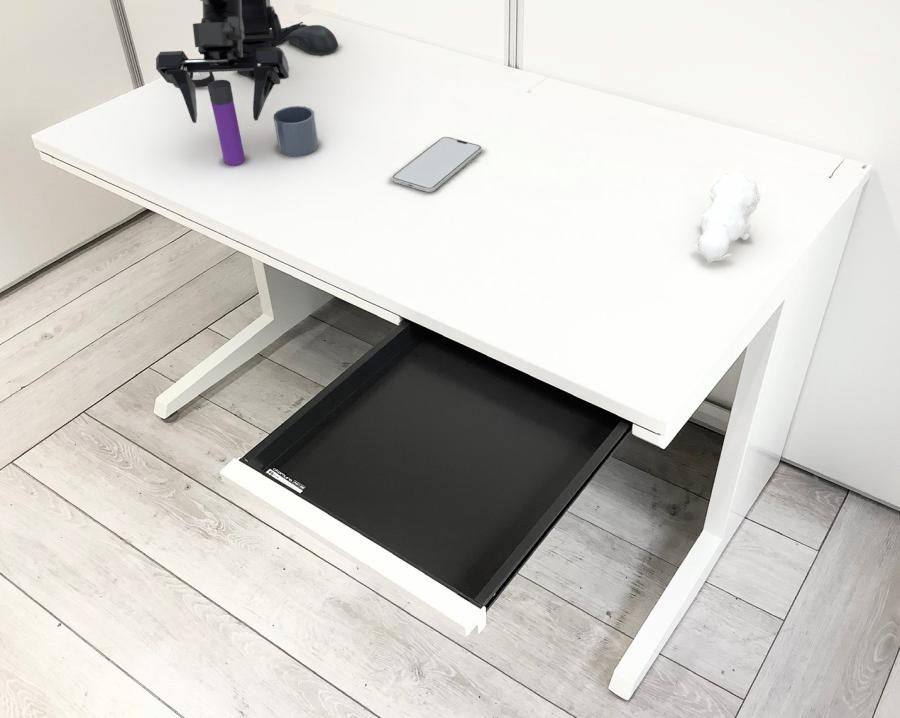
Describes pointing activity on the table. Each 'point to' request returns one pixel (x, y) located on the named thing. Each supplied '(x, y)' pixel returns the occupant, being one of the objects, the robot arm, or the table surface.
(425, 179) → the smartphone
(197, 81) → the watch
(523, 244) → the table surface
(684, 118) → the table surface
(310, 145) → the pen holder
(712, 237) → the white animal figurine
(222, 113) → the glue stick
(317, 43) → the computer mouse
